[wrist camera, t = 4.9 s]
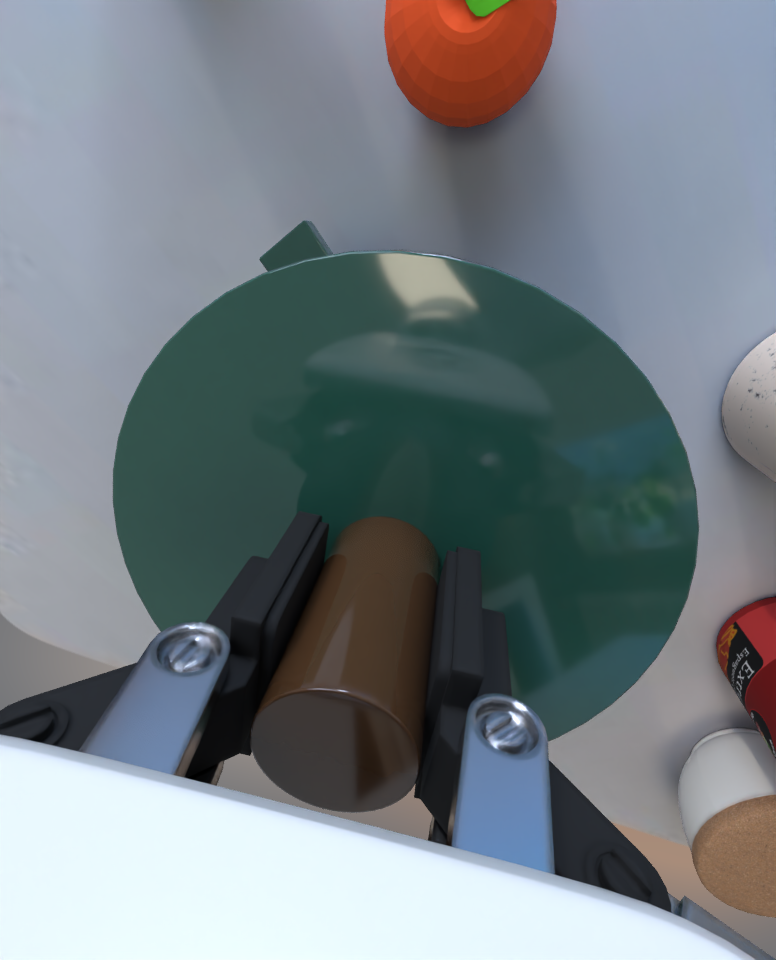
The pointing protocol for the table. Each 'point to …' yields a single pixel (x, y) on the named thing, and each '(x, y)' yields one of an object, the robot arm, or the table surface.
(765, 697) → the canned food
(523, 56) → the clementine
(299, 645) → the pot lid
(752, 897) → the trinket box
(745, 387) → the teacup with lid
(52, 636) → the table surface
